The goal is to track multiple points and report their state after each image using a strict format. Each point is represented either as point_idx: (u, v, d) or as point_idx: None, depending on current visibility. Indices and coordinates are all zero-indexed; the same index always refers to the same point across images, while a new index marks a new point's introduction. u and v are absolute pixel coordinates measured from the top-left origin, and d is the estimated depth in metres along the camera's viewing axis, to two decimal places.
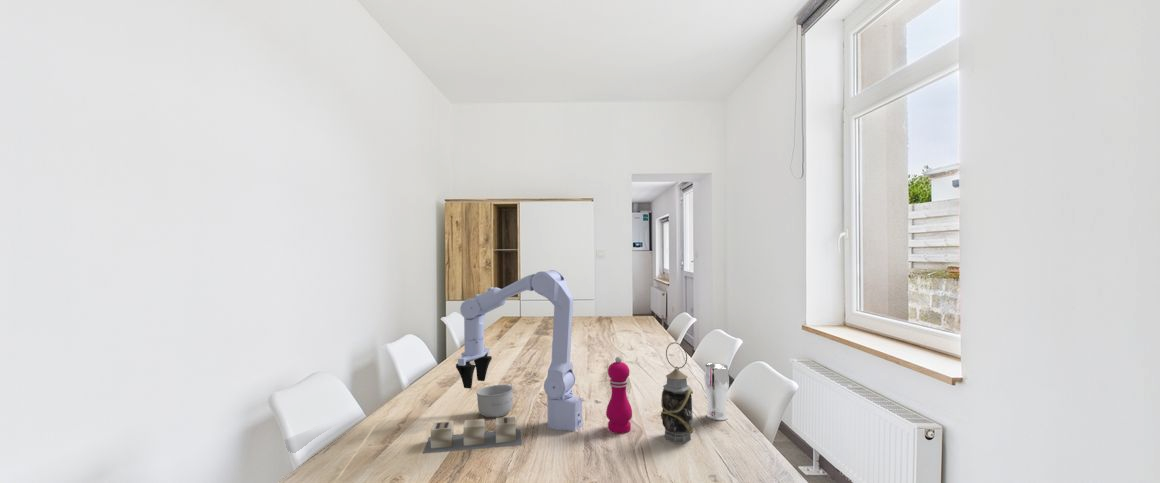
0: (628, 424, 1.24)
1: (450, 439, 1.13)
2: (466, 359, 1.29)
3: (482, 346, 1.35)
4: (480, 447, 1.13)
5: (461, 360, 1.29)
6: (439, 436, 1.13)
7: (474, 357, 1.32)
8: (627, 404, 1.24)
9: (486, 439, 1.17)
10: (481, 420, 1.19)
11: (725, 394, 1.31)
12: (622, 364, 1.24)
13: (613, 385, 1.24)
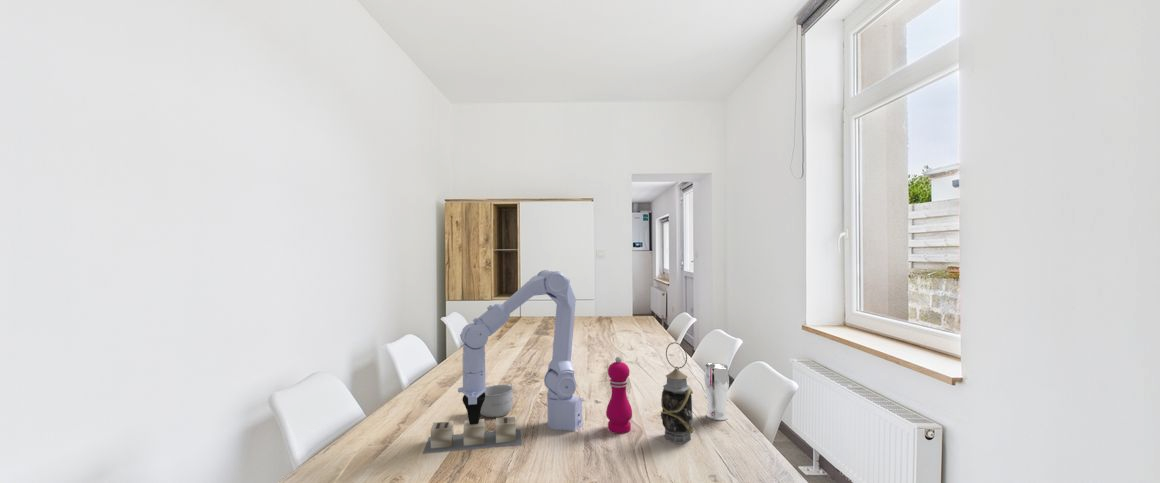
0: (628, 424, 1.24)
1: (450, 439, 1.13)
2: (477, 396, 1.11)
3: None
4: (480, 447, 1.13)
5: (473, 398, 1.10)
6: (439, 436, 1.13)
7: (481, 392, 1.14)
8: (627, 404, 1.24)
9: (486, 439, 1.17)
10: (481, 420, 1.19)
11: (725, 394, 1.31)
12: (622, 364, 1.24)
13: (613, 385, 1.24)
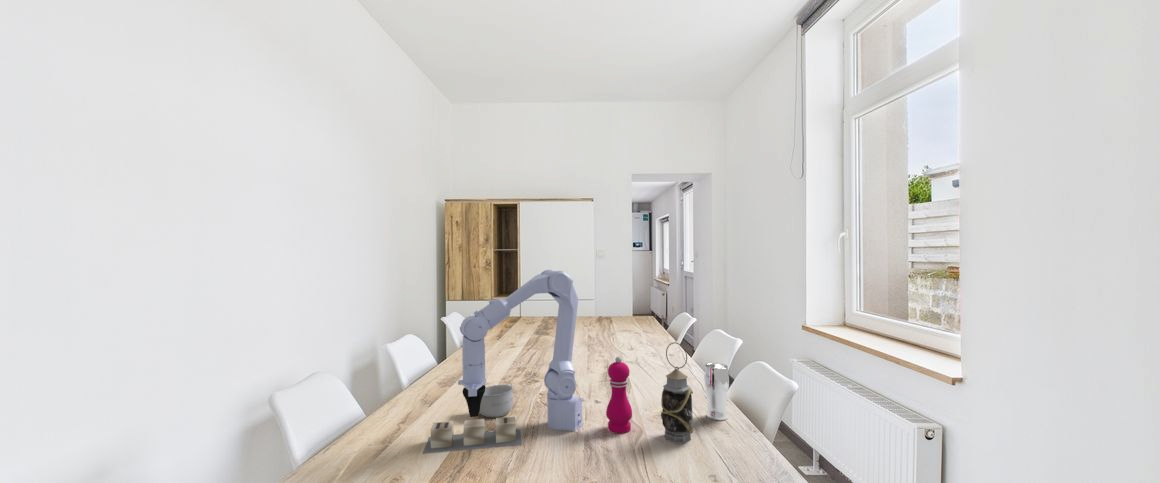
0: (628, 424, 1.24)
1: (450, 439, 1.13)
2: (477, 388, 1.11)
3: None
4: (480, 447, 1.13)
5: (473, 390, 1.10)
6: (439, 436, 1.13)
7: (481, 384, 1.14)
8: (627, 404, 1.24)
9: (486, 439, 1.17)
10: (481, 420, 1.19)
11: (725, 394, 1.31)
12: (622, 364, 1.24)
13: (613, 385, 1.24)
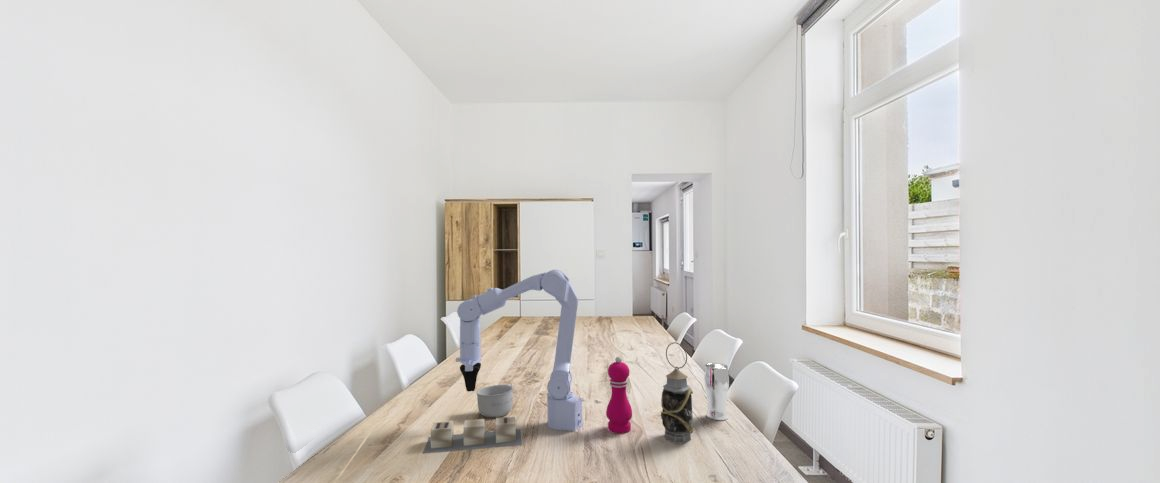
0: (628, 424, 1.24)
1: (450, 439, 1.13)
2: (473, 364, 1.22)
3: (480, 349, 1.29)
4: (480, 447, 1.13)
5: (469, 365, 1.21)
6: (439, 436, 1.13)
7: (477, 361, 1.25)
8: (627, 404, 1.24)
9: (486, 439, 1.17)
10: (481, 420, 1.19)
11: (725, 394, 1.31)
12: (622, 364, 1.24)
13: (613, 385, 1.24)
